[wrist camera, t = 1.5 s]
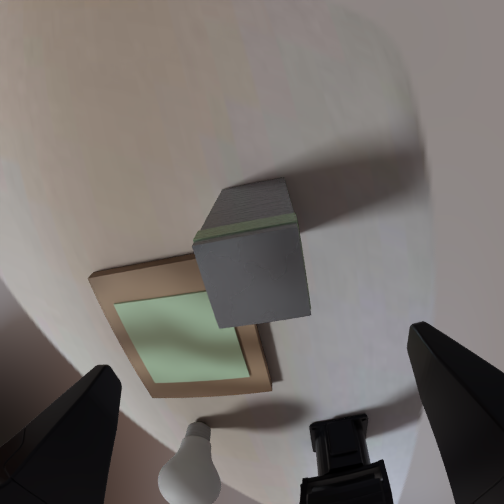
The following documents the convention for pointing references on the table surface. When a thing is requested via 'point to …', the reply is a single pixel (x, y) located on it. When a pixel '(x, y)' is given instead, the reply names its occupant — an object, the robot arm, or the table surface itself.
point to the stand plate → (178, 332)
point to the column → (253, 256)
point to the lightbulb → (191, 470)
